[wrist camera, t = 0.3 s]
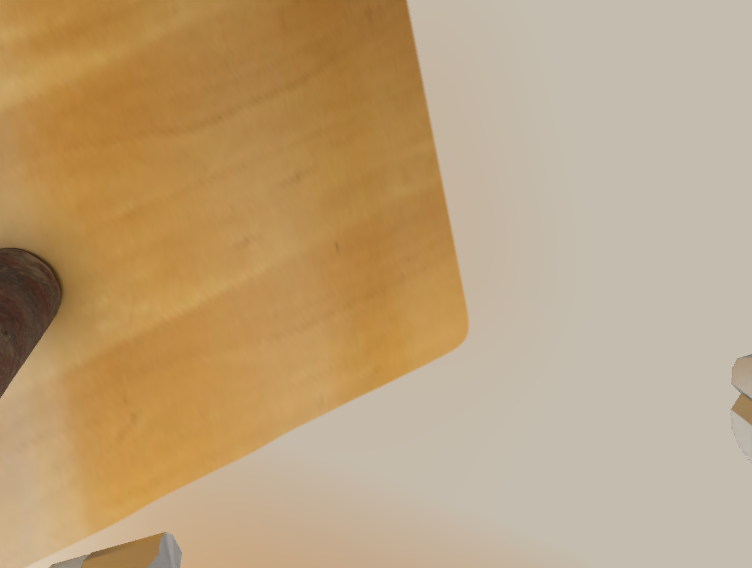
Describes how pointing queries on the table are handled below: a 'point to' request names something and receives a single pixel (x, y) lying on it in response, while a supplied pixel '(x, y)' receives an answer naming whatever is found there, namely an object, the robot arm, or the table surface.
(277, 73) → the table surface
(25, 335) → the candle
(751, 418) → the robot arm
